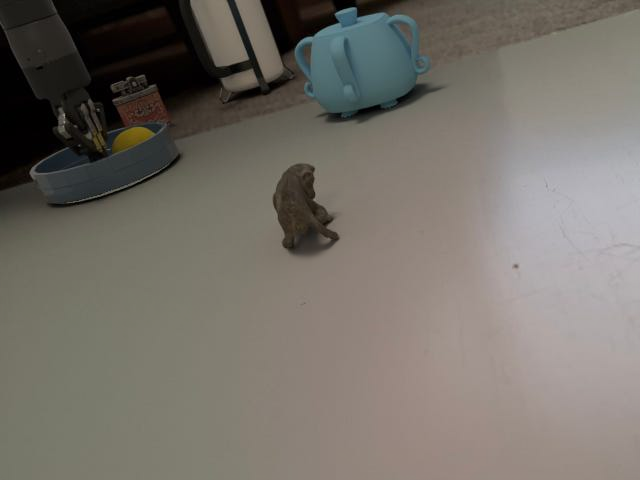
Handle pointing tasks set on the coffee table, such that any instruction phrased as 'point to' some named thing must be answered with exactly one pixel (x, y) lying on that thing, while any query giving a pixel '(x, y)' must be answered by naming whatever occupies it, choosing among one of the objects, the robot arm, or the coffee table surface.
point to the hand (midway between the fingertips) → (108, 177)
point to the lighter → (140, 102)
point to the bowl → (103, 166)
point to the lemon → (130, 138)
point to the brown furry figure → (299, 204)
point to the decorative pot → (361, 62)
